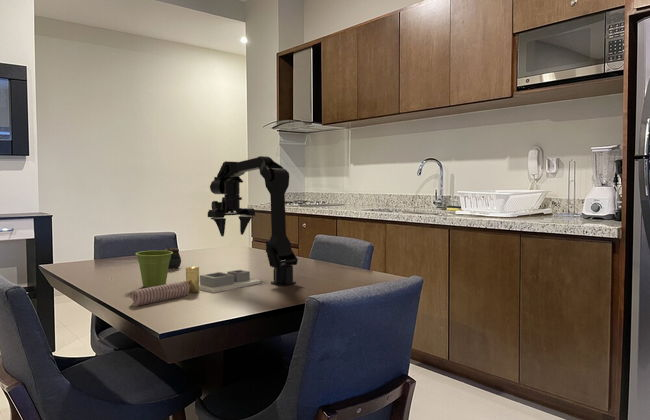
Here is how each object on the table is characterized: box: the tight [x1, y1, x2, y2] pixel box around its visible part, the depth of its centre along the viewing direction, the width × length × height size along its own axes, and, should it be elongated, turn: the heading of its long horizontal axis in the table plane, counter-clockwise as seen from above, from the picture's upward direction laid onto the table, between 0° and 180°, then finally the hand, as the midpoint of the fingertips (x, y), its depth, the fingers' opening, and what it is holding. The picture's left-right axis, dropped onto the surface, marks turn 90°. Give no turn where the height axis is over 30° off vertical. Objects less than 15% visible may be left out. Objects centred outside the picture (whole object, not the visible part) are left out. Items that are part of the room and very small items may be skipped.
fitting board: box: [199, 269, 262, 294], centre depth 165 cm, size 12×20×4 cm, turn 138°
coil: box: [131, 280, 189, 307], centre depth 144 cm, size 5×5×18 cm
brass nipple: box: [185, 265, 200, 295], centre depth 154 cm, size 4×4×8 cm
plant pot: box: [135, 249, 173, 288], centre depth 164 cm, size 12×12×11 cm
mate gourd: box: [164, 245, 182, 270], centre depth 198 cm, size 7×8×10 cm
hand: (232, 235), depth 187 cm, fingers open, 9 cm apart
